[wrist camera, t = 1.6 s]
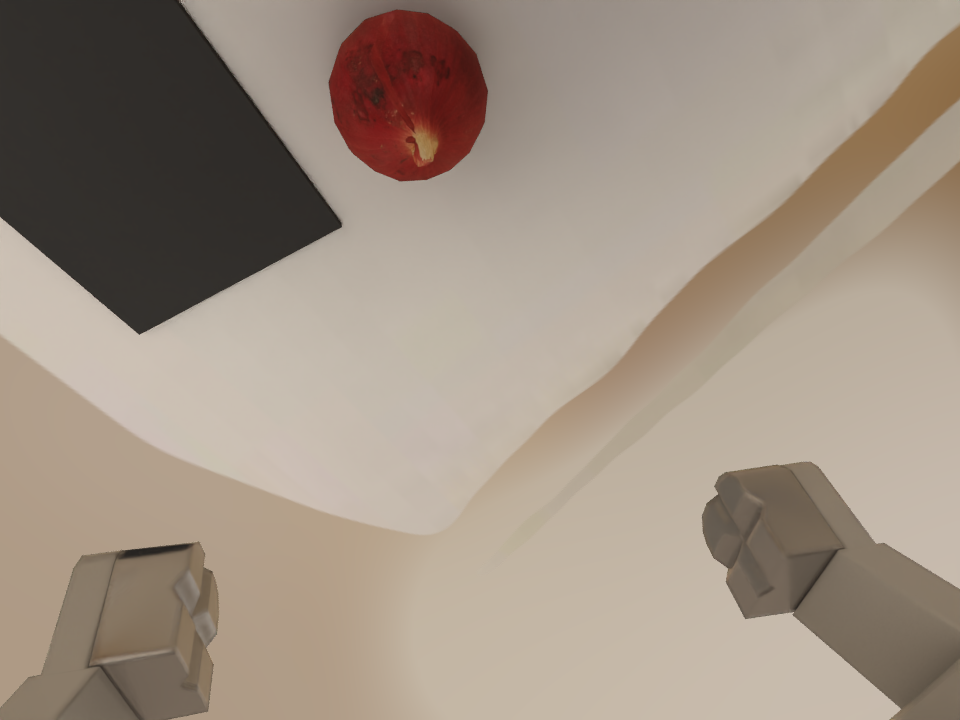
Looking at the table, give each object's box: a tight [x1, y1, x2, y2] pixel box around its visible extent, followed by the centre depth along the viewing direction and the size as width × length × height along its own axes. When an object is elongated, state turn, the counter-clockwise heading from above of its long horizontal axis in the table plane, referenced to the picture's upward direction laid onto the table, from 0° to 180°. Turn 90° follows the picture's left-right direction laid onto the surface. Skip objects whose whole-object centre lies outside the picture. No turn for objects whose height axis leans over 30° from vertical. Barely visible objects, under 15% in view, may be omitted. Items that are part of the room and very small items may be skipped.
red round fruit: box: [329, 10, 488, 181], centre depth 24 cm, size 6×6×8 cm
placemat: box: [0, 0, 342, 335], centre depth 25 cm, size 22×12×1 cm, turn 25°
